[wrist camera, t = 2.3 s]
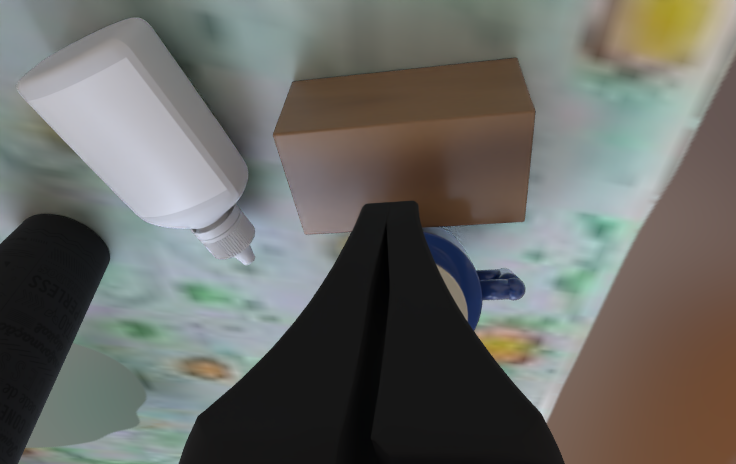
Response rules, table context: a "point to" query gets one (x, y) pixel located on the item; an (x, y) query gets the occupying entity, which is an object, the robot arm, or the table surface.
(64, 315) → the drinking cup
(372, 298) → the robot arm
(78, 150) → the eye dropper bottle
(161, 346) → the table surface
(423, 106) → the oak block
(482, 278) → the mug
